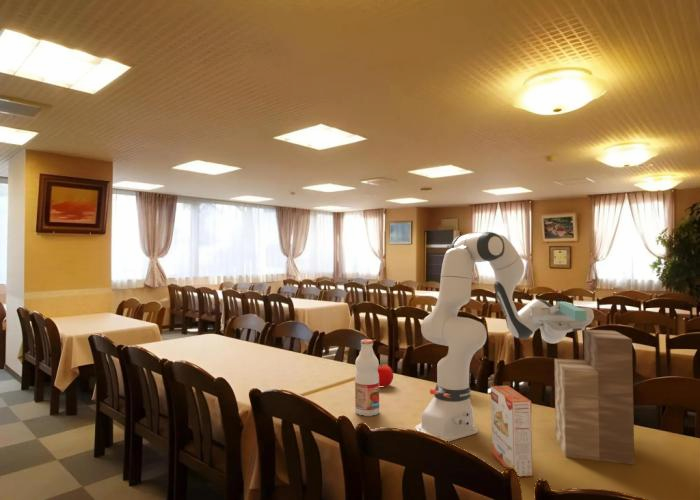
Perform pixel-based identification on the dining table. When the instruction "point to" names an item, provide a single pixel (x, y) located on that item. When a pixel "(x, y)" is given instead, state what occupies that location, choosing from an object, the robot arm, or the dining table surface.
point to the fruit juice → (367, 381)
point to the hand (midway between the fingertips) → (564, 306)
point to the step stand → (596, 400)
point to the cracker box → (512, 429)
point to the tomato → (385, 375)
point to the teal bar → (572, 311)
